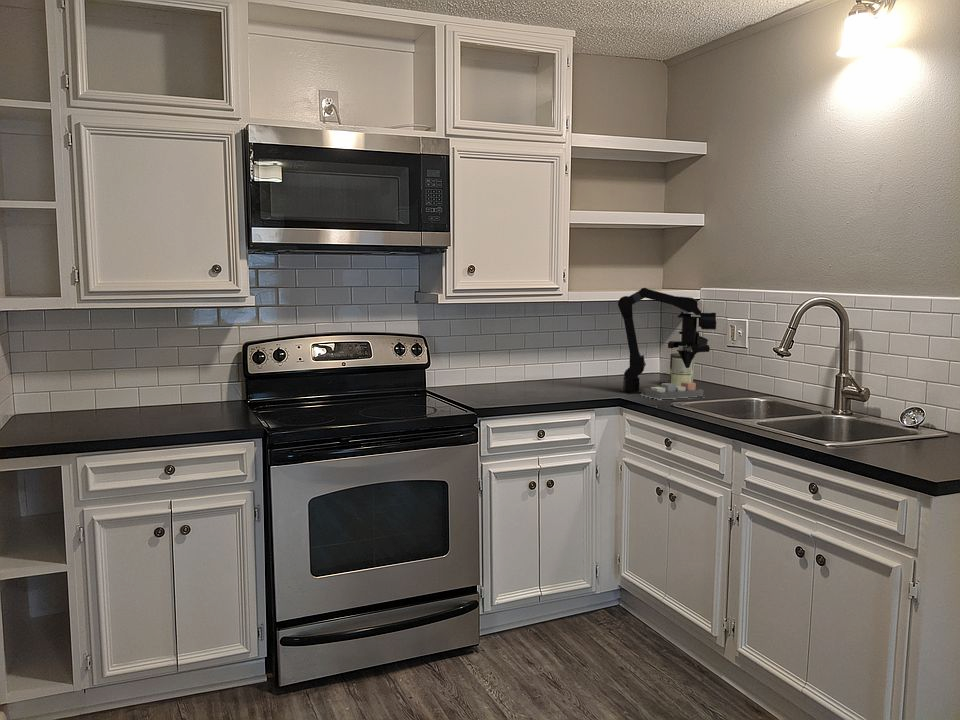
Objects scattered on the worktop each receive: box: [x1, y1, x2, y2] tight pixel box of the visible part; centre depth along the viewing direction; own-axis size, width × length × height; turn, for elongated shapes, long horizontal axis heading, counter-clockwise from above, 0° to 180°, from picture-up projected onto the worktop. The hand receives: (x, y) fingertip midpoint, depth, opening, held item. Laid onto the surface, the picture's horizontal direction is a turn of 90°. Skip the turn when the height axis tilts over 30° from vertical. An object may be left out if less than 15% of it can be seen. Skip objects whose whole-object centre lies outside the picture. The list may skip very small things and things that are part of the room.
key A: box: [650, 386, 666, 392], centre depth 310 cm, size 4×4×3 cm
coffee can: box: [668, 352, 696, 386], centre depth 341 cm, size 10×10×14 cm
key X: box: [660, 382, 676, 392], centre depth 312 cm, size 4×4×3 cm
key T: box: [681, 382, 697, 390], centre depth 317 cm, size 4×4×3 cm
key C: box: [676, 386, 686, 391], centre depth 315 cm, size 4×4×3 cm
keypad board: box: [639, 387, 704, 401], centre depth 313 cm, size 11×24×3 cm, turn 118°
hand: (687, 367), depth 315 cm, fingers closed
